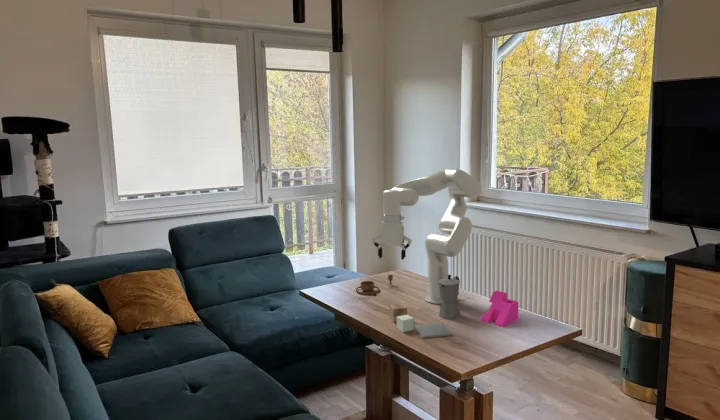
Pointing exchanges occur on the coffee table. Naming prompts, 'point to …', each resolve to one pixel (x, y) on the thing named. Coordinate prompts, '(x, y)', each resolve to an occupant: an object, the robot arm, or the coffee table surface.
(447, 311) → the coffeepot
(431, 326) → the slate coaster
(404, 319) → the pale green block
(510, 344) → the coffee table surface
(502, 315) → the pink angular chunky piece
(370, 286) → the place setting
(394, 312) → the walnut cube
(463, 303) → the coffee table surface
